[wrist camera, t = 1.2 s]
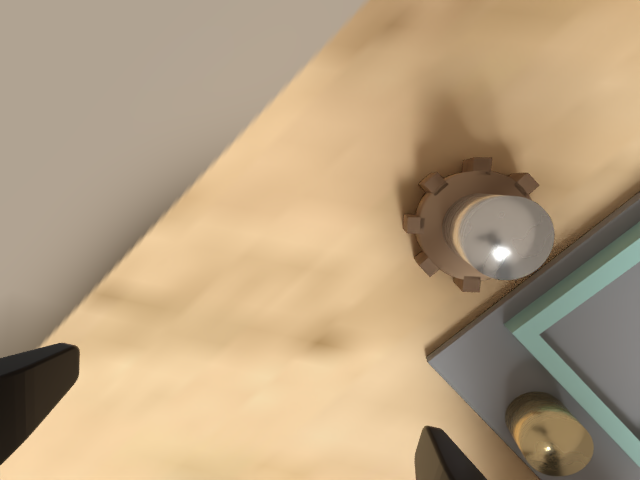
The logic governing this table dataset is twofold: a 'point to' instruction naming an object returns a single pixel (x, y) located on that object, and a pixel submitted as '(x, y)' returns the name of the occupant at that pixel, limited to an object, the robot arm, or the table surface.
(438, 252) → the planet gear
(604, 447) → the carrier plate
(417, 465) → the robot arm
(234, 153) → the table surface
